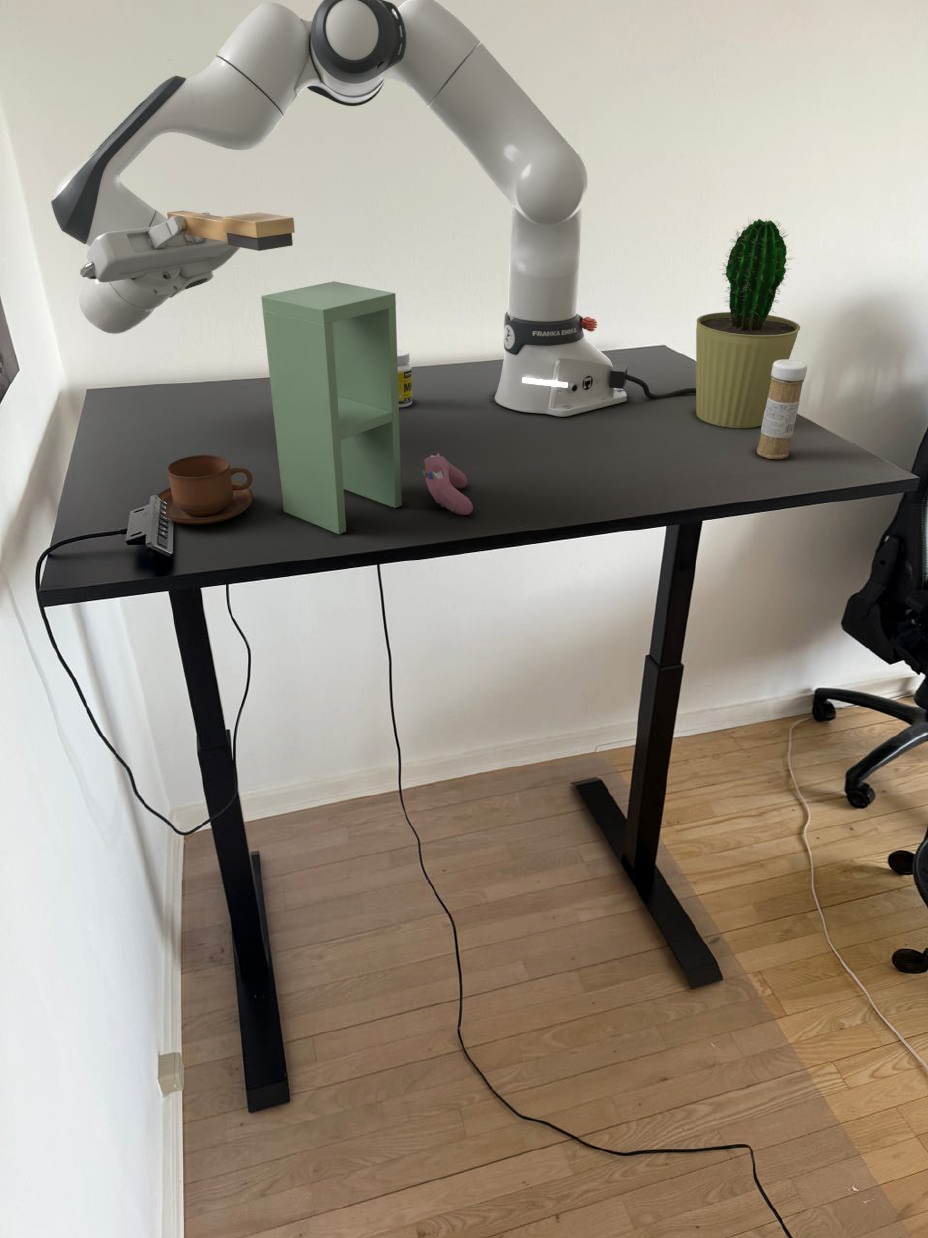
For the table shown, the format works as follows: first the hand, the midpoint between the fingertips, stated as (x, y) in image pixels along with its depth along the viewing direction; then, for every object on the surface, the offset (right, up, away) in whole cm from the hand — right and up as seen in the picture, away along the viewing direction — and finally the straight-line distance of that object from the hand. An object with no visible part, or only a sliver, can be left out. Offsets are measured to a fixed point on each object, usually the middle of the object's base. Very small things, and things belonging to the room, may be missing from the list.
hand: (194, 219), depth 108 cm
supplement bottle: (+22, -13, +40) cm, 47 cm away
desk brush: (+4, -3, -2) cm, 6 cm away
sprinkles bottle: (+78, -25, +21) cm, 85 cm away
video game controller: (+31, -34, +6) cm, 46 cm away
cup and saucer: (+1, -36, +3) cm, 36 cm away
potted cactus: (+76, -16, +36) cm, 86 cm away
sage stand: (+18, -35, +4) cm, 39 cm away
